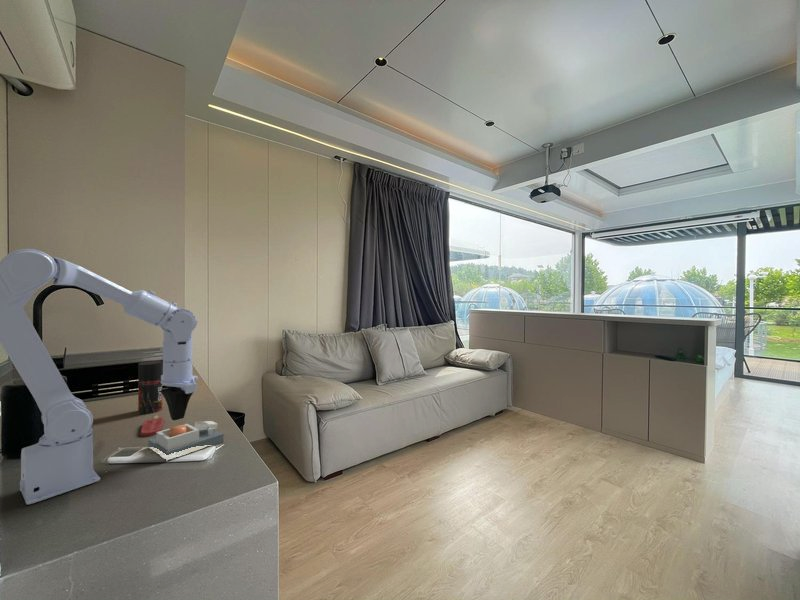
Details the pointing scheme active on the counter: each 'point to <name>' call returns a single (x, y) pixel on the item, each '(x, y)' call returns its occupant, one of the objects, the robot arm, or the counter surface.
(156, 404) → the deodorant
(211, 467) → the counter surface
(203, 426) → the rocker
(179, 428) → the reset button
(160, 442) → the breaker panel
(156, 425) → the popsicle
